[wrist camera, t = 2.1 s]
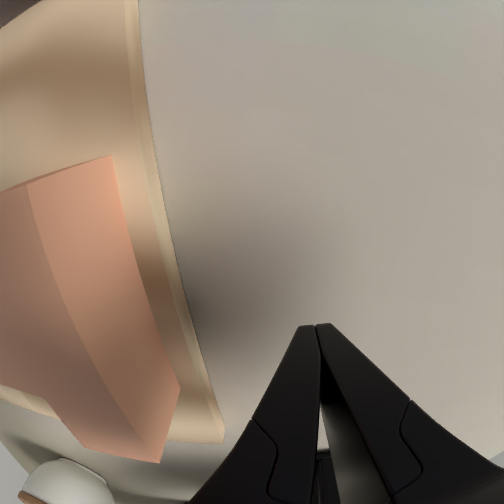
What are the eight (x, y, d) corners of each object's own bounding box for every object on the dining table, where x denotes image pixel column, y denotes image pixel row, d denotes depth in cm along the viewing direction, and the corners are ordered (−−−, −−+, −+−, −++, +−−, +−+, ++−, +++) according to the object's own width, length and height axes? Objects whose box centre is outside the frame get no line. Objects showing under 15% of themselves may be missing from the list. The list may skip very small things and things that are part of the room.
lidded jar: (118, 498, 26) (101, 554, 17) (43, 459, 24) (19, 512, 16) (135, 483, 22) (114, 558, 13) (39, 433, 20) (4, 502, 12)
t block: (180, 388, 12) (159, 463, 9) (40, 371, 13) (7, 420, 10) (111, 154, 8) (26, 184, 5) (-33, 203, 9) (-92, 236, 6)
